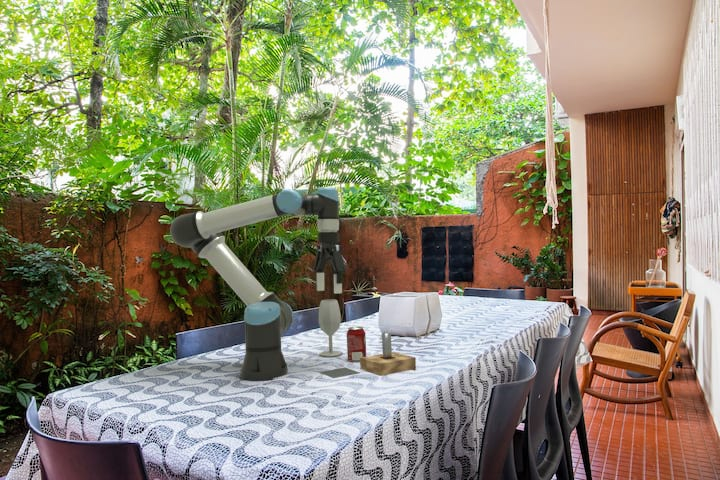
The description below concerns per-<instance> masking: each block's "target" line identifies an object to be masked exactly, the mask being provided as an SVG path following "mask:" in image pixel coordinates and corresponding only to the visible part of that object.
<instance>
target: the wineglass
mask: <svg viewBox="0 0 720 480" xmlns="http://www.w3.org/2000/svg"><path fill="white" fill-rule="evenodd" d="M318 307H319V308H318V325H319V329H320V330H321V331H322V332H323V333H324V334H325V335H327V336H328V350H325V351H321V352H319V353H318V355H319V356H321V357H324V358H325V357H329V358H333V357H340V356H341V355H343V351H341V350H334V348H333V345H334V344H333V336H334V334H335V333H337V331H338V330H339V329H340V327H341V322H342V316H341V315H342V314H341V310H340V305H339V302H338V300H337V299H323V300H320V304H319V306H318Z"/></svg>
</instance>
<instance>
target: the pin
mask: <svg viewBox="0 0 720 480" xmlns="http://www.w3.org/2000/svg"><path fill="white" fill-rule="evenodd" d="M381 346H382V349H381V350H382V354H383V359H385V360H387V359H392V352H393V351H392V333H391V332H382V333H381Z"/></svg>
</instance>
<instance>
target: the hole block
mask: <svg viewBox="0 0 720 480" xmlns="http://www.w3.org/2000/svg"><path fill="white" fill-rule="evenodd" d="M416 360H417V359H416V357H415V356H410V355H407V354H403V353H400V352H396V351H392V359H387V360H385V359H383V353H380V354H375V355H374V354H373V355H369V356H366V357H362V358H360V362H359V364H360V365H359V366H360V370H362V371H365V372H368V373H371V374H375V375H378V376H386V375H391V374H395V373H401V372H407V371H416V370H417V365H416V364H417V362H416Z"/></svg>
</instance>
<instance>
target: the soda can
mask: <svg viewBox="0 0 720 480" xmlns="http://www.w3.org/2000/svg"><path fill="white" fill-rule="evenodd" d="M366 339H367V338H366V331H365V329H364V327H363V326H350V327H348V330H347V332H346V346H347V347H346V349H347V351H346V352H347V361H348V362H350V363H351V362H353V363H360V358H362V357H367V341H366Z"/></svg>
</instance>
